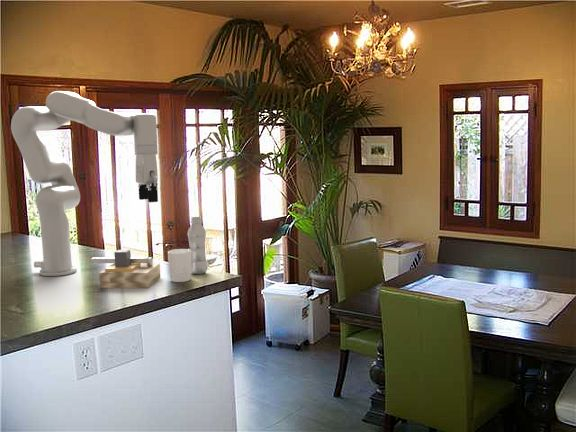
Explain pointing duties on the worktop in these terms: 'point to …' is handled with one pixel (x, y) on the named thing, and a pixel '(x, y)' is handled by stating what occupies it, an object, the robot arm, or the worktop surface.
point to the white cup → (180, 265)
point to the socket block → (131, 277)
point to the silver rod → (133, 260)
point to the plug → (122, 262)
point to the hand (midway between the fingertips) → (148, 200)
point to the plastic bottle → (197, 246)
